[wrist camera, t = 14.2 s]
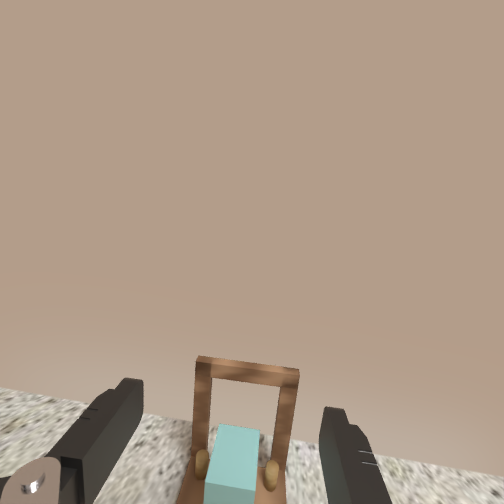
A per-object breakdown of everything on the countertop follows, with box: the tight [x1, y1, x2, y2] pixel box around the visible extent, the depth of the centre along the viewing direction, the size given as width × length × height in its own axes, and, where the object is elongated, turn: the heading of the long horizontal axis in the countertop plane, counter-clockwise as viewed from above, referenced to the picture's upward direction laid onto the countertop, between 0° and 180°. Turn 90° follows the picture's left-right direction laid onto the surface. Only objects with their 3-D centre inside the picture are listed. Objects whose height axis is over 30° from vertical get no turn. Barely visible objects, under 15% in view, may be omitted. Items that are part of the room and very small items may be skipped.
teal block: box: [203, 424, 260, 504], centre depth 27 cm, size 4×6×11 cm
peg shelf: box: [176, 356, 300, 504], centre depth 27 cm, size 13×16×18 cm
